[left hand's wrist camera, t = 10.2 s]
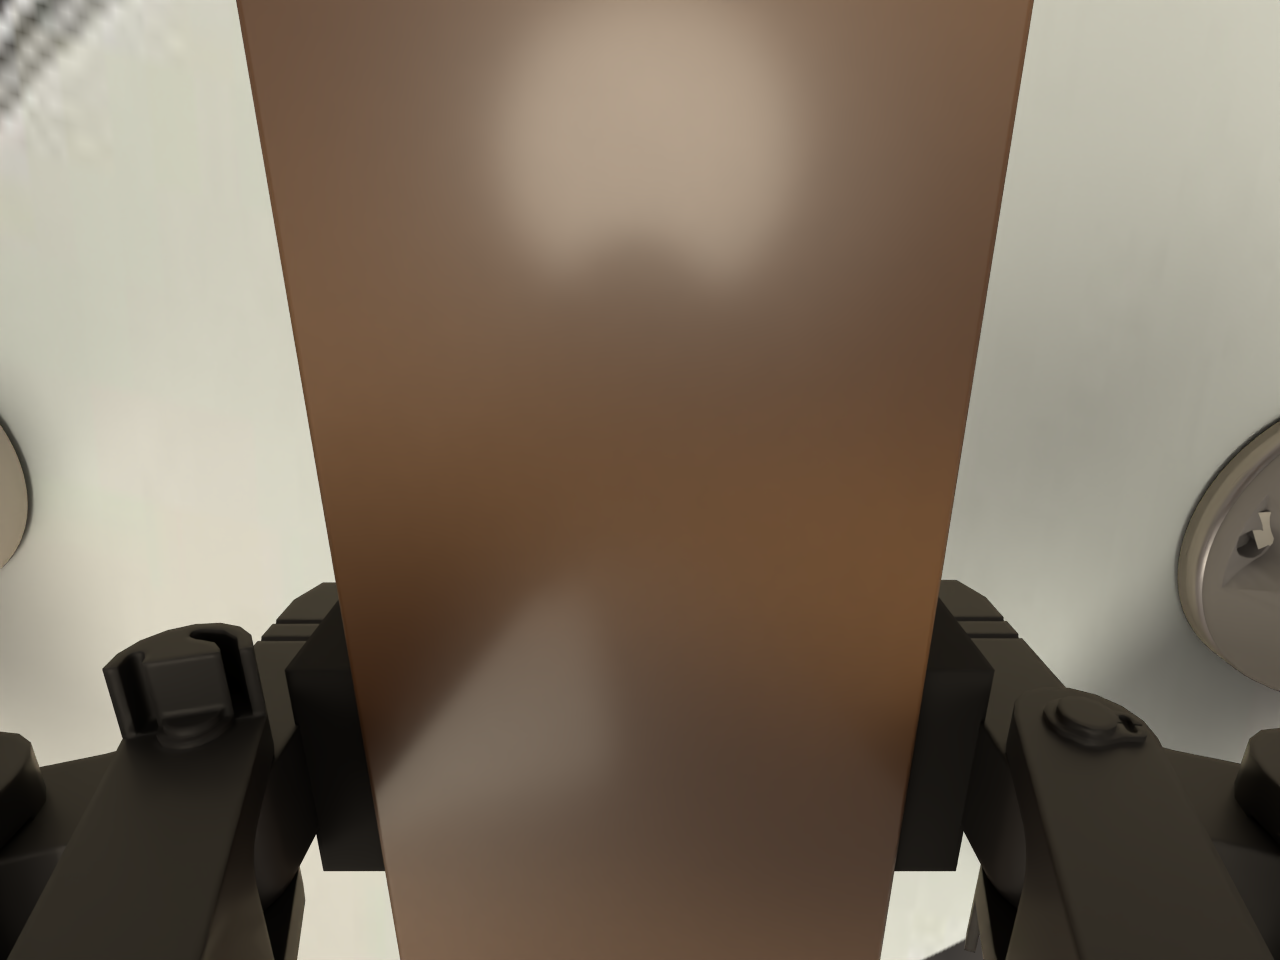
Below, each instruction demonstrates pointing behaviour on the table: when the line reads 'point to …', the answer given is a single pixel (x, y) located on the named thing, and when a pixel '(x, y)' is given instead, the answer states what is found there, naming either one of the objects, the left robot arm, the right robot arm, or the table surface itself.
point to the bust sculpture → (11, 500)
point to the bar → (637, 440)
